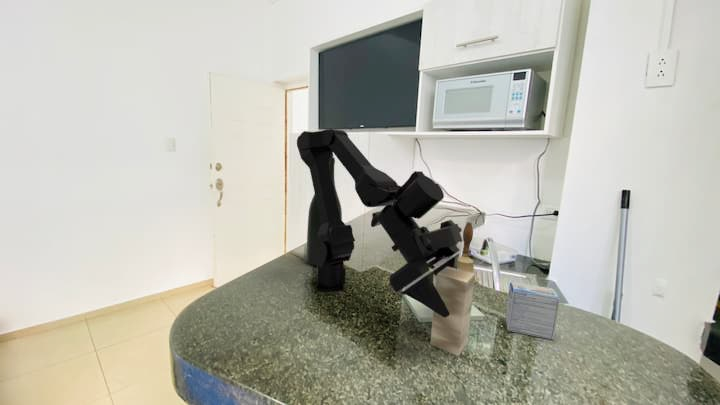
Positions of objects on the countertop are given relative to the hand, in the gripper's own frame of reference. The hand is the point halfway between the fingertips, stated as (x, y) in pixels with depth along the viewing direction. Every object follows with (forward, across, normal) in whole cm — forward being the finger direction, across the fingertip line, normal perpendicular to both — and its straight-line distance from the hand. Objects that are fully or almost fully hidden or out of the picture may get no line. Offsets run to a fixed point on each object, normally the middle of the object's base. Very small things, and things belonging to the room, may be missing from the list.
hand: (456, 305), depth 51 cm
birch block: (+5, 0, +6) cm, 7 cm away
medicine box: (+12, +15, -2) cm, 19 cm away
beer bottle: (-27, +15, +37) cm, 48 cm away
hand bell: (-1, +33, +11) cm, 35 cm away
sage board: (0, +12, +10) cm, 16 cm away
